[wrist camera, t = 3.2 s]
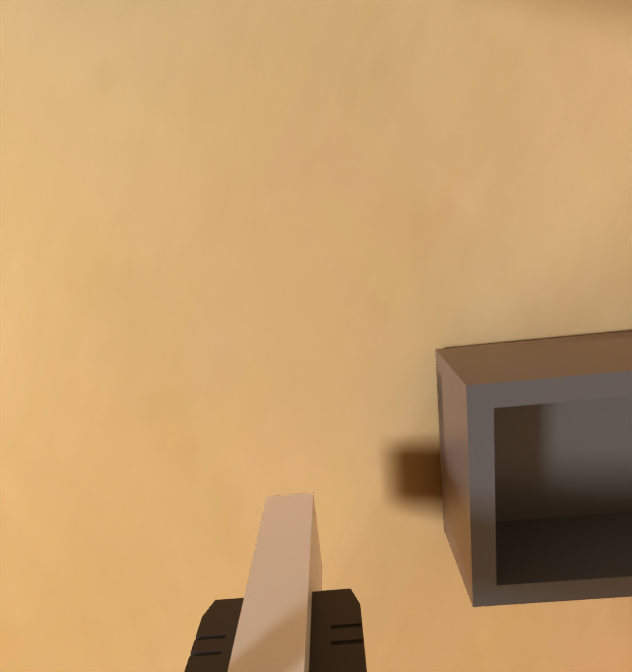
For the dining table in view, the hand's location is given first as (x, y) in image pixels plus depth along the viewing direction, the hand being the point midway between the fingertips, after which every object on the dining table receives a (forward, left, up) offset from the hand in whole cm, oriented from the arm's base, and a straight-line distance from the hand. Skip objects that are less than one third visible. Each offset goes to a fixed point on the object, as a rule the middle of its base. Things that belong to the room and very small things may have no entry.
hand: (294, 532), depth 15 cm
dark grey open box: (0, +11, -5) cm, 12 cm away
